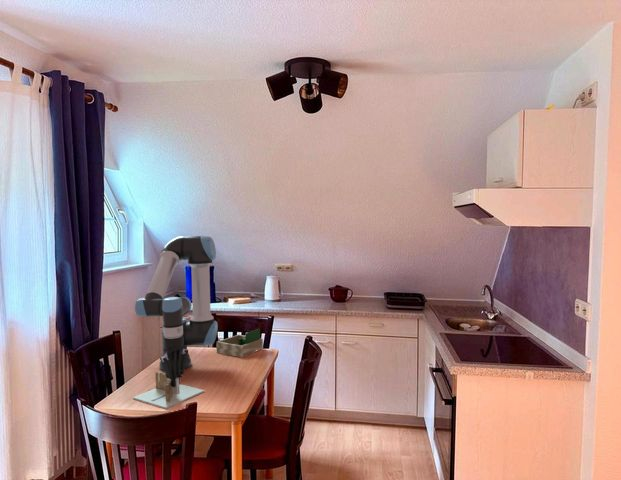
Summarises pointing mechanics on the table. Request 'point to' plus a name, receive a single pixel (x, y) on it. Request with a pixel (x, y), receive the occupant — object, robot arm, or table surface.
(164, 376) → the fence fixed
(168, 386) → the fence gate
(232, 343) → the box
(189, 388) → the card
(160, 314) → the robot arm
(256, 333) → the pixelated creature
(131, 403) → the table surface
